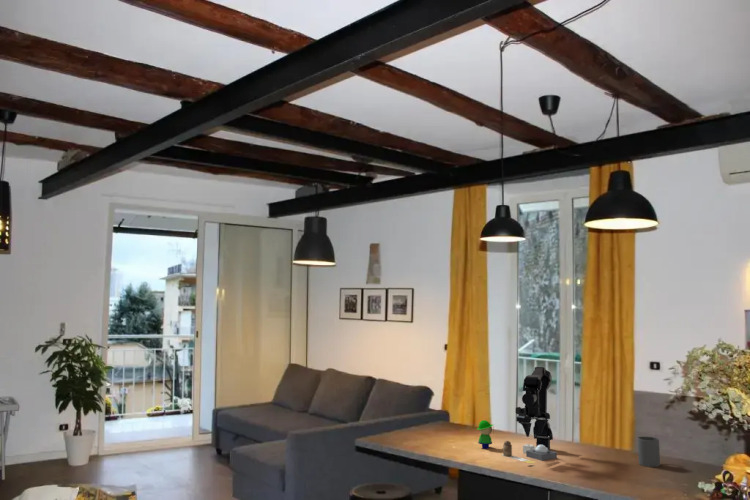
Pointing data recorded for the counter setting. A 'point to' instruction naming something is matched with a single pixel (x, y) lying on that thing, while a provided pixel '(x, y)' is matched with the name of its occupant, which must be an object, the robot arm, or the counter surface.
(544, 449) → the dome
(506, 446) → the pawn
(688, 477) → the counter surface
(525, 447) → the die
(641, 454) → the mug
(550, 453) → the base
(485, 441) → the toy
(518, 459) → the board
